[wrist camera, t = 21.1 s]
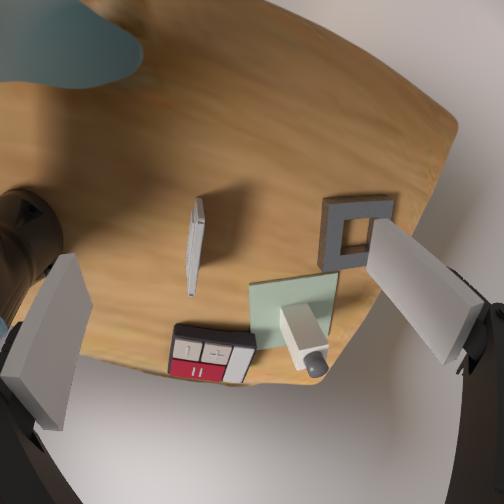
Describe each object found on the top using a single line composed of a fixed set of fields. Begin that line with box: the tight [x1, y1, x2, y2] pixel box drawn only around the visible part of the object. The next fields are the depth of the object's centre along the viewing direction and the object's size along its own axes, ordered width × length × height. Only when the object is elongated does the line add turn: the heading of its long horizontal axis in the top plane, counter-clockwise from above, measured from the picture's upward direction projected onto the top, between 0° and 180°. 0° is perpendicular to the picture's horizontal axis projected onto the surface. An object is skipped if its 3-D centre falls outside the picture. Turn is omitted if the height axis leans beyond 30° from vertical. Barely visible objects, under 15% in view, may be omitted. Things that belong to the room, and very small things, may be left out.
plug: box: [280, 302, 329, 378], centre depth 52 cm, size 5×5×14 cm
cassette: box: [186, 197, 205, 297], centre depth 44 cm, size 12×2×8 cm, turn 168°
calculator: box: [168, 324, 257, 383], centre depth 57 cm, size 11×4×15 cm
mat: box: [249, 271, 338, 351], centre depth 58 cm, size 16×16×1 cm
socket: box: [317, 195, 394, 272], centre depth 51 cm, size 12×12×2 cm
